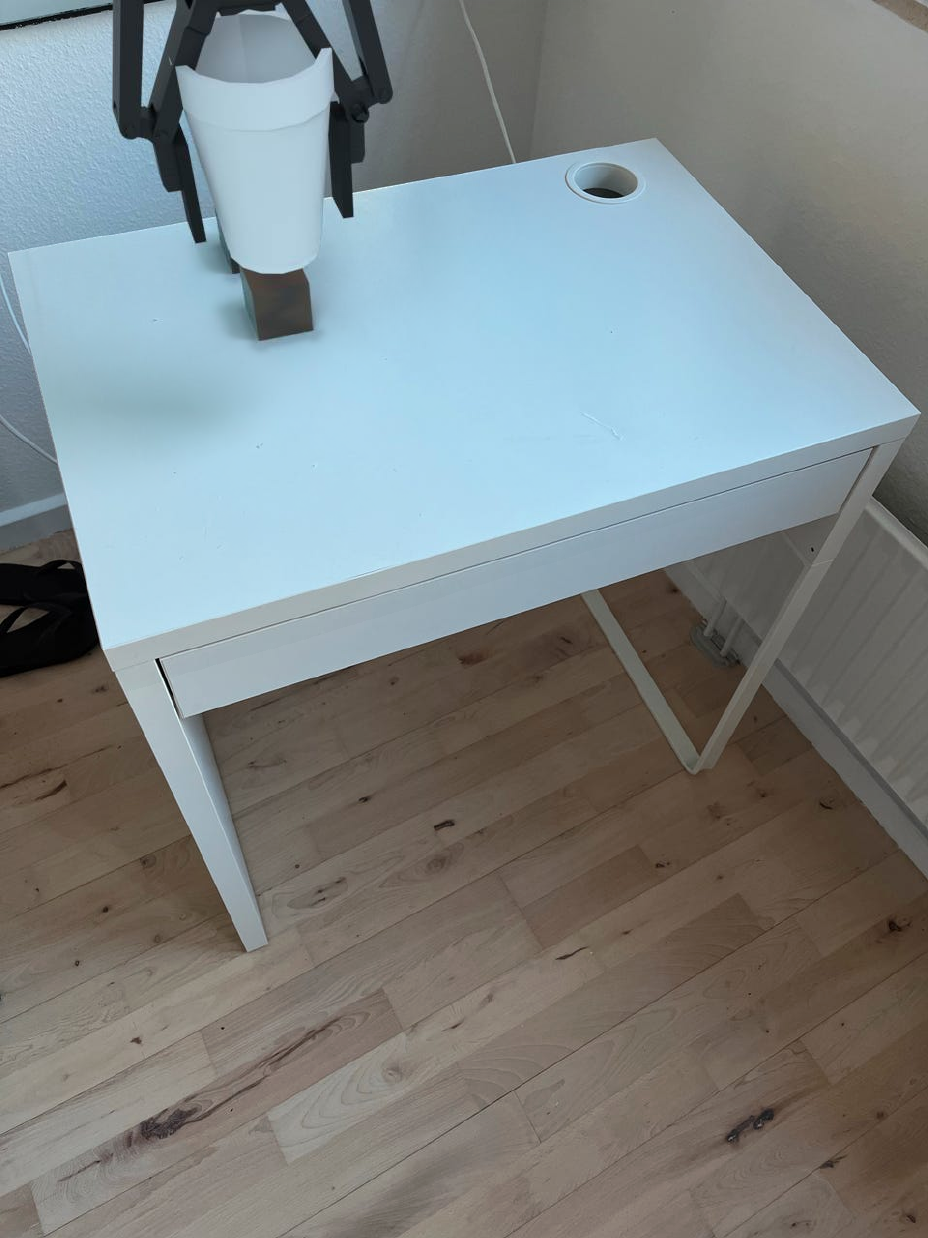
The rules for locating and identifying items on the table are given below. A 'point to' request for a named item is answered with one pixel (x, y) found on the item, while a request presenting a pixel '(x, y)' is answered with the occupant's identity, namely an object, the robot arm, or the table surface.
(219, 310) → the table surface
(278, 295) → the walnut block near
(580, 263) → the table surface
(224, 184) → the foam cup
